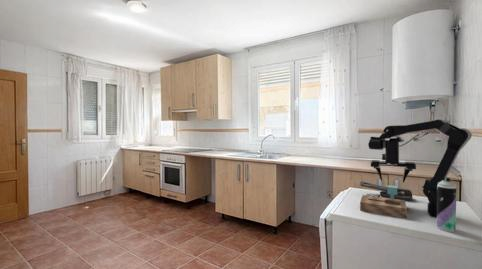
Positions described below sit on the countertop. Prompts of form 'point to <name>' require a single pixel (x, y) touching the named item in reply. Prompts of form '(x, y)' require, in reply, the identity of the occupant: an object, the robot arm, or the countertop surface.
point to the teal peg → (392, 191)
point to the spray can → (446, 205)
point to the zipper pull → (384, 193)
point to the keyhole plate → (383, 206)
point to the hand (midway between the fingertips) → (392, 181)
